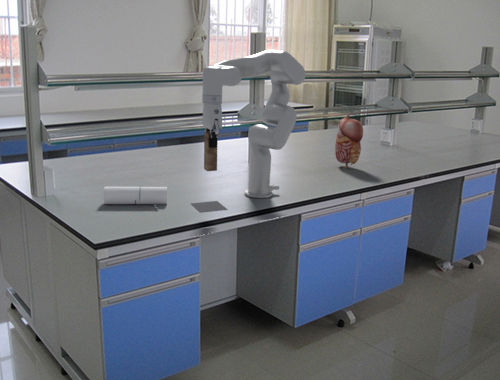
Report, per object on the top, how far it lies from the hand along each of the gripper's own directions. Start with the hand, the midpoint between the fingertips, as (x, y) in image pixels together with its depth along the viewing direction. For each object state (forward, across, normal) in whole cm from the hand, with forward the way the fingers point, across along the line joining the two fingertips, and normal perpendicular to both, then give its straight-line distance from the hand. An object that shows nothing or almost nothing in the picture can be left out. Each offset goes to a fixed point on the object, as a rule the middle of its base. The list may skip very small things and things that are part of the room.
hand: (210, 145), depth 206 cm
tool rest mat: (+26, +1, 0) cm, 26 cm away
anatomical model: (+26, +44, -98) cm, 111 cm away
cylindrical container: (+23, +11, +14) cm, 29 cm away
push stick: (+10, 0, 0) cm, 10 cm away
